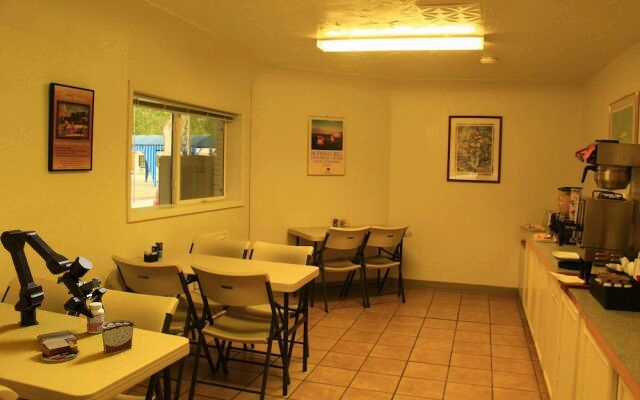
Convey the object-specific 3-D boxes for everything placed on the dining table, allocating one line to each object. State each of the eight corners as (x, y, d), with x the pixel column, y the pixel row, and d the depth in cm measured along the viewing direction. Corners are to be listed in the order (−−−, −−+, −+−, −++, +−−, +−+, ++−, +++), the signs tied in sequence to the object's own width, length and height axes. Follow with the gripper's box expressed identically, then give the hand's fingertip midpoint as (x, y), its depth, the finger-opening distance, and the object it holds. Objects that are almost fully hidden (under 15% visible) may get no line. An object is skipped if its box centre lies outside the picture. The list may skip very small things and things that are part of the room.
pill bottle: (89, 328, 209) (89, 301, 208) (105, 328, 210) (105, 301, 209) (84, 334, 203) (85, 306, 202) (101, 333, 204) (101, 305, 203)
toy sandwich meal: (44, 367, 172) (44, 352, 172) (35, 354, 183) (35, 341, 182) (84, 358, 180) (84, 345, 180) (74, 347, 191) (73, 334, 190)
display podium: (37, 341, 195) (36, 334, 195) (69, 335, 202) (68, 329, 202) (43, 350, 186) (43, 343, 186) (76, 343, 193) (76, 337, 193)
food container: (127, 343, 195) (127, 317, 195) (135, 347, 191) (135, 321, 190) (94, 351, 187) (94, 323, 186) (101, 356, 182) (101, 327, 182)
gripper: (70, 277, 197) (95, 309, 195) (102, 267, 215) (125, 296, 213) (52, 295, 199) (77, 327, 197) (86, 284, 217) (109, 313, 215)
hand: (98, 315), depth 206 cm, fingers closed on pill bottle, 6 cm apart
